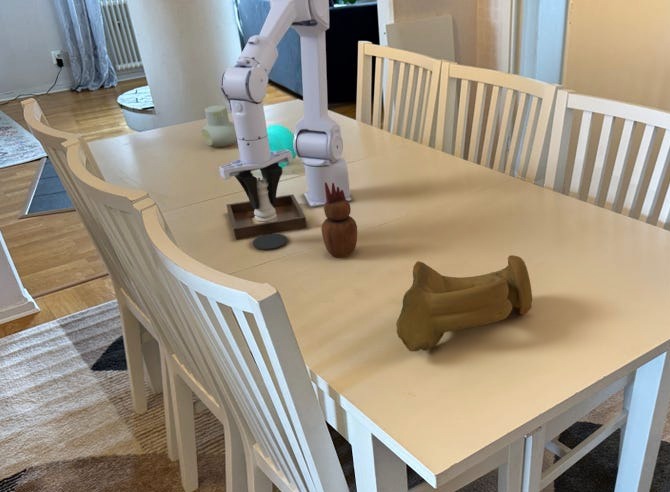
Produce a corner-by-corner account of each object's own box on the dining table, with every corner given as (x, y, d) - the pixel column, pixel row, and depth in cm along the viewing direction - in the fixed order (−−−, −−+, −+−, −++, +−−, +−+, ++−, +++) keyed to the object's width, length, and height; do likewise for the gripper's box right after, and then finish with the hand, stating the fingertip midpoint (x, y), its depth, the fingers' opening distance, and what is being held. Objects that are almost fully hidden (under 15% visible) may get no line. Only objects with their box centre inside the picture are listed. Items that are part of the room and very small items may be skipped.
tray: (294, 204, 156) (293, 194, 155) (307, 227, 145) (305, 217, 144) (228, 214, 152) (226, 204, 151) (235, 239, 141) (233, 229, 140)
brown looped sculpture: (386, 259, 116) (513, 231, 115) (402, 331, 119) (526, 304, 119) (384, 280, 98) (535, 247, 97) (404, 364, 102) (549, 333, 101)
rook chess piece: (267, 212, 139) (260, 174, 135) (281, 217, 137) (275, 178, 132) (250, 219, 137) (242, 180, 132) (264, 224, 134) (257, 185, 130)
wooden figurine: (327, 262, 132) (318, 188, 123) (322, 249, 136) (313, 177, 128) (361, 257, 133) (355, 183, 124) (355, 244, 138) (349, 172, 129)
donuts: (301, 162, 178) (296, 124, 173) (286, 176, 171) (281, 136, 165) (266, 160, 181) (260, 122, 175) (250, 174, 173) (243, 134, 167)
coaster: (284, 233, 143) (284, 231, 143) (290, 246, 138) (290, 245, 138) (250, 238, 142) (250, 236, 141) (255, 252, 136) (255, 250, 136)
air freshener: (201, 143, 195) (193, 107, 189) (227, 136, 199) (221, 101, 193) (216, 152, 187) (209, 115, 182) (244, 145, 191) (238, 109, 186)
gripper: (275, 123, 133) (285, 189, 141) (206, 139, 126) (221, 208, 134) (294, 131, 129) (303, 199, 137) (223, 148, 122) (237, 219, 129)
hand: (263, 204), depth 135 cm, fingers closed on rook chess piece, 3 cm apart
